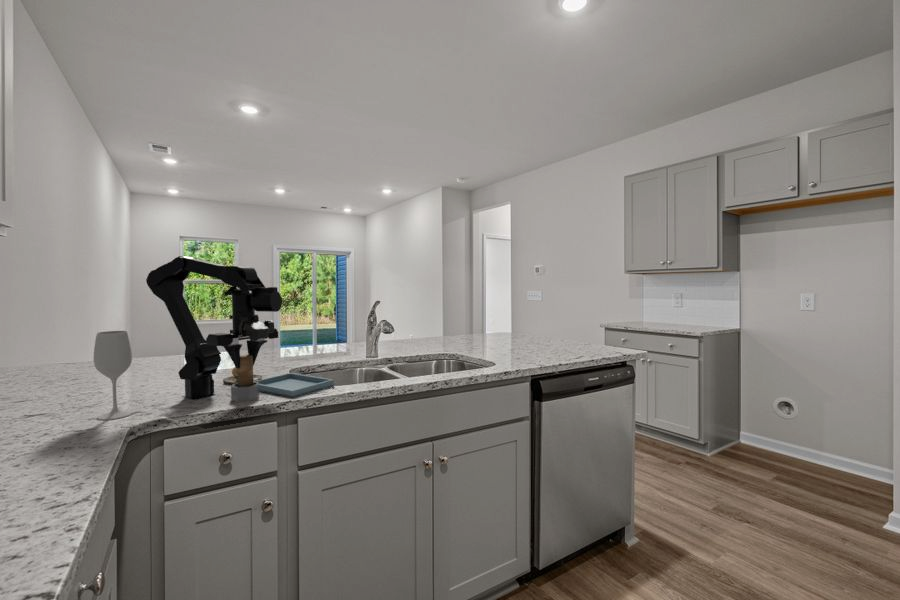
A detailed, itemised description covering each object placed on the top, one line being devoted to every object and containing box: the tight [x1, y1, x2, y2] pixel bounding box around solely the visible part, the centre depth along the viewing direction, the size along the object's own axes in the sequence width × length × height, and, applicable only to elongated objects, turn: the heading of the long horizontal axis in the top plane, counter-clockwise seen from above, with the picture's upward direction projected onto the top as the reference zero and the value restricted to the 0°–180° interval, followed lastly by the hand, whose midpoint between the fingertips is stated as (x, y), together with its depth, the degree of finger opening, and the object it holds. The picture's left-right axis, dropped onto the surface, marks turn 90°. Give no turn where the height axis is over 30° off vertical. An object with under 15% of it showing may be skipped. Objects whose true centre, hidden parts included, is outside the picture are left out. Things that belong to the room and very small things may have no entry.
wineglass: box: [93, 330, 134, 421], centre depth 110 cm, size 8×8×21 cm
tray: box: [253, 372, 335, 399], centre depth 137 cm, size 16×20×2 cm
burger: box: [222, 366, 263, 386], centre depth 145 cm, size 12×12×8 cm
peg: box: [237, 354, 254, 386], centre depth 124 cm, size 4×4×8 cm
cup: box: [230, 382, 260, 403], centre depth 124 cm, size 7×7×4 cm
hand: (245, 366), depth 124 cm, fingers closed on peg, 4 cm apart
